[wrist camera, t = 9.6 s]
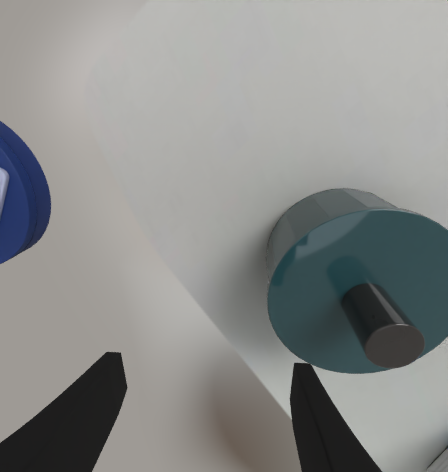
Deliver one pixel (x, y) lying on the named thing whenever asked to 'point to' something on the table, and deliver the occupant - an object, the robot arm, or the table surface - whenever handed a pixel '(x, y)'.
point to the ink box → (440, 463)
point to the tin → (315, 216)
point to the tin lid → (362, 290)
